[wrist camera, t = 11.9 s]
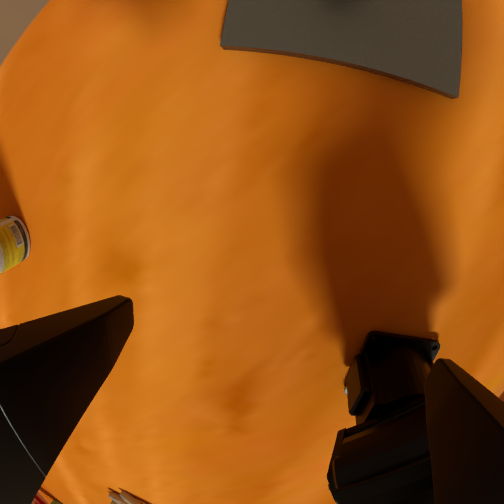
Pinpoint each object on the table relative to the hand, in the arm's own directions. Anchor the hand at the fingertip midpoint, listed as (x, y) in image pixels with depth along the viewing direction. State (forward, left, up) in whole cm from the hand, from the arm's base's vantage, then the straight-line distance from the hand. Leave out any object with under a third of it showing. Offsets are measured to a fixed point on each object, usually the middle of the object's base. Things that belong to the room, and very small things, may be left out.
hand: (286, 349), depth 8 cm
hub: (-1, -19, -13) cm, 23 cm away
